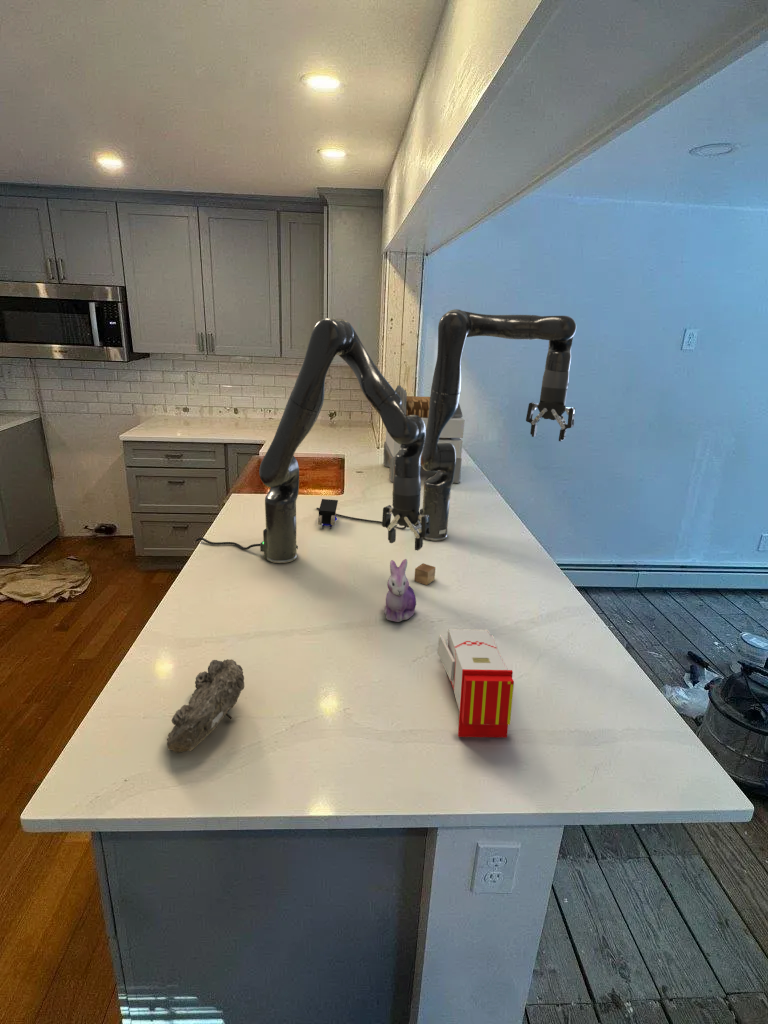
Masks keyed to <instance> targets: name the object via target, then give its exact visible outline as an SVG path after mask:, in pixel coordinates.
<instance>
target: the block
mask: <svg viewBox="0 0 768 1024" xmlns="http://www.w3.org/2000/svg"><path fill="white" fill-rule="evenodd" d="M435 577H436V566H434V565H433V566H432V565H431V564H427V563H421V564H419V565H418V566H417V567H415V569H414V580H413V581H414V582H415V583H419V584H422V585H425V586H428V585H429V584H431V583H432V582H434V581H435Z"/></svg>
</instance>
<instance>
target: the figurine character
mask: <svg viewBox="0 0 768 1024" xmlns="http://www.w3.org/2000/svg"><path fill="white" fill-rule="evenodd" d="M338 503H339V500H338V499H326V498H321V501H320V505H319V507H318V508H319V510H318V516H317V517H318V518H317V526H321V529H322V530H324V528H325V527H329V530H332V528H333V526H335V525H336V521H338V518H337V515H336V514H337V508H338Z"/></svg>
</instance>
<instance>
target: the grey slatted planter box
mask: <svg viewBox="0 0 768 1024" xmlns="http://www.w3.org/2000/svg"><path fill="white" fill-rule="evenodd" d="M394 390H395V392H396V393H397V394H398V396H399V397H400V399H401V400H402V406H401V408H402V410H403V412H404V413H405V415H406V416H409V415H417V416H419V417H420V418H421V419H422V420H423V421H424V424H425V428H426V427H427V421H428V414H429V405H430V396H415V395H414V396H413V395H412V396H411V395H407V394H408V393H407V390H406V389H404V388H403V387H402V385H399V384H398V385H397V386H396V388H395V389H394ZM464 429H465V419H464V418H463V411H462V408H461V405H460V402H459V403H458V407H457V410H456V411H455V413H454V414H453V416H452V417H451V419H450V420H449V421H448V423H447V424H446V425H445V427H444V428H443V430H442V432H441V434H440V437H439V440H438V443H451V444H452V445H453V446H454V448H455V451H456V463H455V470H454V477H453V483H452V484H455V483H456V484H459V483H461V472H462V461H463V460H462V453H463V442H464V441H463V440H462V439H463V438H464V431H465V430H464ZM399 450H400V444H398V443H397V442H395V441H394V440H393V439H392V438H391V436H390V435H389V433H388V431H387V429H386V428H385V438H384V442H383V466H384V467H388V468H389V475H388V476H389V477H388V478H389V480H390V482H391V483H393V479H394V461H395V456H396V454H397V453H398V452H399ZM421 467H422V464H421Z"/></svg>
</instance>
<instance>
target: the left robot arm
mask: <svg viewBox="0 0 768 1024" xmlns="http://www.w3.org/2000/svg"><path fill="white" fill-rule="evenodd" d="M358 335H359V334H357V332H356V330H355V329H354V327H353V326H352V324H351V323H350V322H349V321H347V320H345V319H343V318H336V317H335V318H334V317H324V318H322V319H321V320H318V322H316V323H315V325H314V327H313V329H312V331H311V334H310V338H309V341H308V345H307V348H306V352H305V355H304V359H303V362H302V365H301V367H300V370H299V373H298V375H297V378H296V381H295V383H294V385H293V388H292V390H291V392H290V395H289V397H288V400H287V402H286V405H285V407H284V409H283V410H284V411H283V413H282V416H281V418H280V421H279V423H278V426H277V429H276V432H275V434H274V437H273V438H272V441H271V443H270V445H269V447H268V449H267V450H266V453H265V455H264V456H263V458H262V460H261V461H260V465H259V470H258V473H259V474H258V475H259V478H260V481H261V482H262V484H263V485H265V486H266V487H268V488H270V489H269V490H268V492H267V493H266V495H265V499H264V511H265V513H264V514H265V515H264V516H265V528H264V529H263V531H262V536H263V537H262V539H263V540H262V541H261V542H260V543H254V544H250V545H247V546H243V545H241V544H239V543H237V542H234V541H220V542H217V541H216V542H214V541H210V540H208V539H206V538H204V537H201V536H200V537H198V538H196V539H195V542H199V541H203V542H204V543H207V544H209V545H212V546H221V545H222V546H223V545H232V546H236V547H238V548H239V549H240V550H242V551H243V550H244V551H248V550H249V549H251V548H254V547H260V552H263V559H264V560H267V561H268V562H271V563H273V564H287V563H291V562H294V561H295V560H297V558H298V549H299V547H298V544H297V499H298V496H299V491H300V488H299V487H300V466H299V462H298V460H297V457H295V456H294V455H295V453H296V451H297V449H298V448H299V446H300V445H301V444H302V443H303V441H304V440H305V439H306V437H307V436H308V434H309V433H310V432H311V431H312V429H313V428H314V426H315V424H316V422H317V420H318V418H319V416H320V413H321V411H322V408H323V405H324V402H325V386H326V384H325V383H326V378H327V374H328V371H329V370H330V366H331V364H332V363H333V361H334V358H335V357H336V356H339V357H340V358H341V359H342V360H343V361H344V362H345V363H346V364H347V365H348V366H349V368H350V369H351V370H352V372H353V374H354V376H355V378H356V379H357V383H358V385H359V387H360V389H361V392H362V394H363V395H364V397H365V399H366V400H367V401H368V402H369V404H370V405H371V407H372V408H373V409H374V410H375V411H376V413H377V414H378V415H379V416H380V419H381V421H382V423H383V425H384V427H385V430H386V429H387V431H388V433H389V435H390V436H391V438H392V439H393V440H394V441H395V442H397V443H398V444H400V450H399V452H398V453H397V454H396V456H395V461H394V479H393V482H392V505H390V504H389V505H387V506H384V507H383V508H382V520H381V521H382V523H381V526H382V527H383V528H386V529H387V541H388V543H389V544H393V543H396V539H397V538H396V536H397V528H395V527H398V526H400V527H406V528H408V529H410V531H411V532H412V533H413V534H414V536H415V538H414V551H417V552H418V551H420V550H421V549H422V548H423V545H424V538H425V537H426V536H428V535H430V516H429V515H428V514H427V515H421V514H420V509H421V508H420V507H421V493H422V480H421V468H422V466H421V455H422V451H423V447H424V442H425V436H426V428H425V424H424V421H423V420H422V419H421V418H420V417H419V416H417V415H409V416H406V415H405V413H404V412H403V410H402V408H401V406H402V400H401V399H400V397H399V396H398V394H397V393H396V392H395V390H396V389H394V388H393V387H392V385H391V384H390V382H389V381H388V380H387V379H386V377H385V376H384V375H383V374H382V372H381V371H380V369H379V368H378V367H377V366H376V364H375V363H374V360H373V359H372V358H371V356H370V355H369V353H368V352H367V350H366V348H365V346H364V345H363V342H362V341H361V339H360V337H359V336H358ZM392 516H393V519H392ZM419 519H420V523H421V525H420V523H419V521H418V520H419ZM414 524H415V525H416V526H414Z"/></svg>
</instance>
